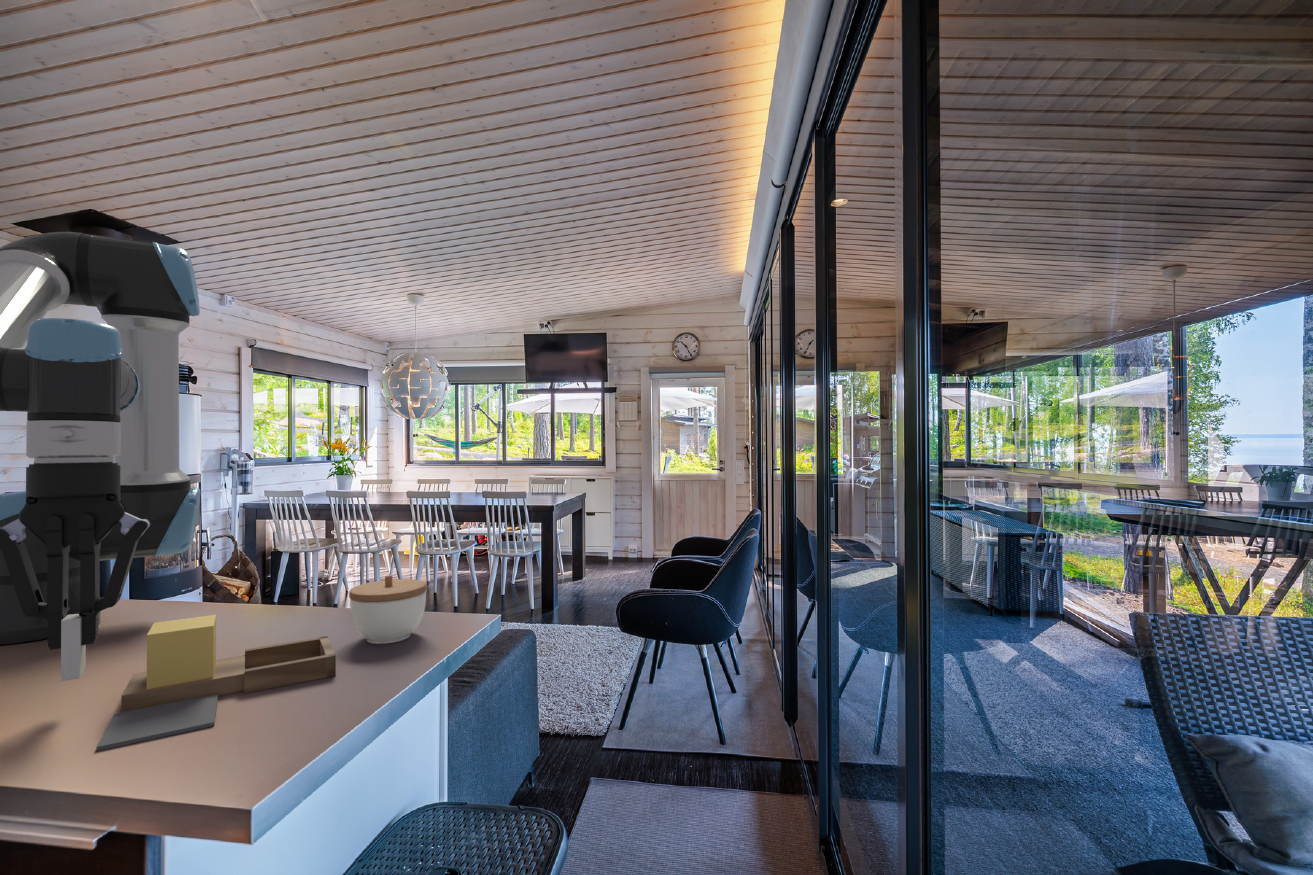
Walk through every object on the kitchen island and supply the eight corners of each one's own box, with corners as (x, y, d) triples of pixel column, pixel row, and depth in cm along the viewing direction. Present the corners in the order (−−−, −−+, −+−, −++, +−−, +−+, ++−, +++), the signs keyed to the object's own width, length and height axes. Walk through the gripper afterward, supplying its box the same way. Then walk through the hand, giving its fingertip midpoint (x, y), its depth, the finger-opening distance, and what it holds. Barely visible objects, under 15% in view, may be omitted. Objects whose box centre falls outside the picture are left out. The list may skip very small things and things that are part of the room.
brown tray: (134, 687, 73) (134, 666, 73) (327, 653, 84) (327, 635, 84) (119, 717, 64) (119, 693, 64) (335, 675, 76) (335, 655, 76)
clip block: (153, 673, 72) (154, 622, 72) (216, 662, 75) (216, 614, 75) (146, 689, 67) (146, 634, 67) (213, 677, 70) (213, 625, 70)
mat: (114, 717, 65) (114, 713, 65) (218, 697, 70) (218, 693, 70) (96, 751, 57) (96, 746, 57) (214, 725, 62) (214, 721, 62)
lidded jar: (441, 631, 94) (441, 571, 94) (385, 653, 84) (385, 585, 85) (391, 624, 98) (391, 566, 99) (332, 644, 89) (332, 580, 89)
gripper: (-24, 462, 60) (-27, 702, 59) (146, 459, 67) (145, 673, 67) (2, 461, 66) (0, 678, 66) (155, 459, 73) (154, 654, 73)
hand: (73, 675), depth 66 cm, fingers closed
